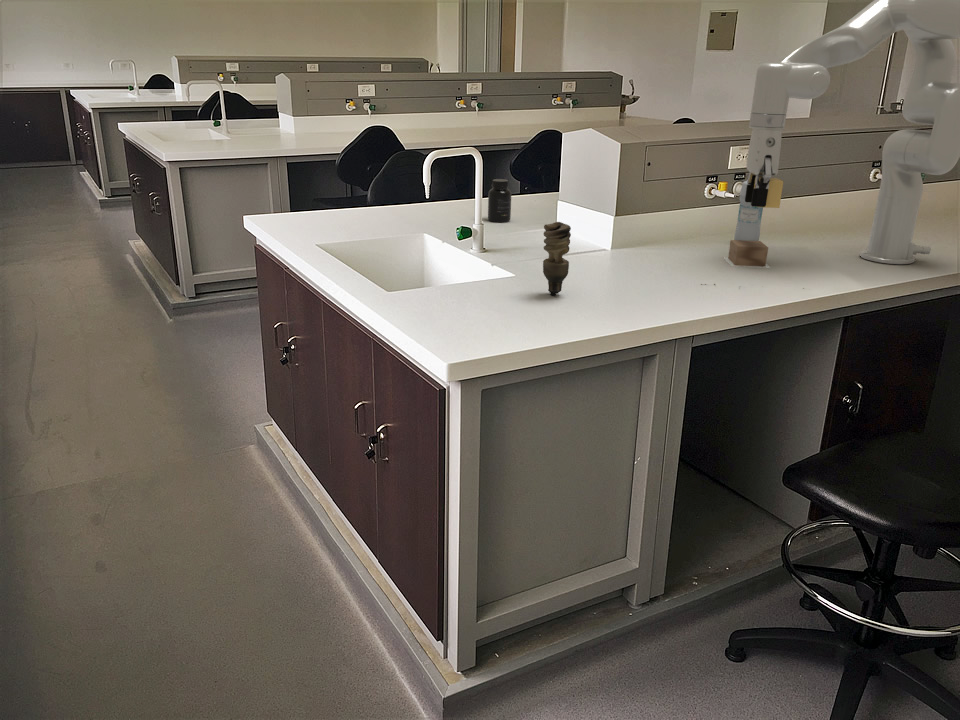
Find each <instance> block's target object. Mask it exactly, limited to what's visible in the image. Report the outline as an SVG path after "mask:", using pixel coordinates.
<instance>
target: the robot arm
mask: <svg viewBox="0 0 960 720" xmlns="http://www.w3.org/2000/svg"><path fill="white" fill-rule="evenodd" d="M899 31H903V32H904V33H905V35H906V37H907V38H908V40H909V41H910V43H911V45H912V48H913V52H914V63H913V68H912V73H911V75H910V79H909V82H908V86H907V88H906V92H905V95H904V99H903V102H902V109H901V113H902V117H903V118H904V119H905V121H907V122H910V123H912V124H916V125H917V124H919V125H926V126H927V125H928V126H932V130H930V131H929V130H922V129H914V128H913V129H912V128H911V129H910V128H907V129H906V128H905V129H900V130H897V131H895V132H893V133H892V134H891V135H889V136H888V137H887V139H886V140H885V142H884V144H883V147H882V152H881V153H882V154H881V155H882V157H881V163H882V166H881V167H882V171H881V179H880V184H879V190H878V195H877V199H876V205H875V209H874V210H875V211H874V215H873V219H872V220H873V221H872V225H871V230H870V235H869V239H868V245H867V249H862V250H860V251H859V256H861V259H864V260H867V261H871V262H875V263H881V264H890V265H910V264H913V263H915V259H916V255H917V254H921V255H929V254H930V253H931V246H929V245H928V246H927V245H925V246H921V245H919V244H915V242H913V237H914V232H915V228H916V223H917V219H918V214H919V209H920V206H921V201H922V197H923V191H924V181H923V177H922V174H925V175H933V176H941V175H945V174H946V173H948V172H950V171H952V170H953V169H954V167H955V166H956V164H957V162H959V159H960V83H959V82H952V79H953V74H954V70H955V66H956V62H957V53H956V52H957V51H956V49H955V46H954V43H953V41H952V40H958V39H960V0H872V1H871V2H870V3H868V4H867V5H866V6H865V7H864V8H862V9H861V10H860V11H859V12H858V13H856V14H855V15H854V16H853V17H851V18H850V19H848V20H847V21H846V22H845V23H844V24H842V25H840V26H839V27H837V28H834V29H833V30H831V31H828V32H827V33H825V34H823V35H821V36H819V37H817V38H815V39H813V40H810V41H809V42H807V43H805V44H803V45H801V46H800V47H798V48H797V49H796V50H794V51H793V52H791V53H790V54H789V55H787V56H786V57H785V58H783V59H782V60H781V61H780V62H765V63H764V62H763V63H761V64H760V65H759V66H758V67H757V69H756V75H755V82H754V88H753V89H754V90H753V96H752V103H751V110H750V112H751V113H750V117H749V123H748V129H752V131H751V134H750V141H749V145H748V146H749V147H748V151H747V158H746V170H747V171H748V178H747V180H748V181H747V180H746V181H747V184H750V185H747V188H746V195H745V202H751V206H755V207H763V208H766V207H765V206H766V201H767V195H768V188H769V182H770V178H772V176H777V175H778V172H779V166H780V156H781V149H782V147H781V146H782V131H784V130H785V125H786V119H787V115H788V114H787V113H788V107H789V101H790V99H798V100H813V99H816V98H820V96H822V95H824V93H826V91H828V88H829V86H830V83H831V75H830V73H829V70H828V69H829V68H833V67H837V66H842V65H846V64H850V63H852V62H855V61H858V60H861V59H863V58H864V57H866V56H867V55H868V54H869V53H870V52H872V51H873V50H875V49H876V48H877V47H878V46H879V45H880V44H882V43H883V42H885V41H886V40H887V39H888V38H890V37H891V36H892V35H893V34H895V33H896V32H899ZM755 177H756V181H755ZM759 178H761V179H760V181H759ZM754 183H755V188H754Z"/></svg>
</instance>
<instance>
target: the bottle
mask: <svg viewBox="0 0 960 720" xmlns="http://www.w3.org/2000/svg"><path fill="white" fill-rule="evenodd" d="M747 181H748V179H747V180H745V181H743V182H742V185H741V187H740V188H741V189H740V192H739V199H738V200H739V206H738V207H739V208H738V215H737V222H736V228H735V232H734V239H733V240H744V241H760V235H761V225H762V218H763V212H764V210H763V209H764V207H755V206H751V202H745V195H746V188H747V185H750V184H747Z"/></svg>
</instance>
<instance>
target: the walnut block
mask: <svg viewBox="0 0 960 720" xmlns="http://www.w3.org/2000/svg"><path fill="white" fill-rule="evenodd" d="M768 253H769V246H767V245H766V244H765V243H763V242H762V241H761V240H759V241H744V240H734V239H730V243H729V249H728V259H729V260H730V261H731V262H732V263H733V264H734V265H738V266H763V267H765V266H766V264H767V259H768Z"/></svg>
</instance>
